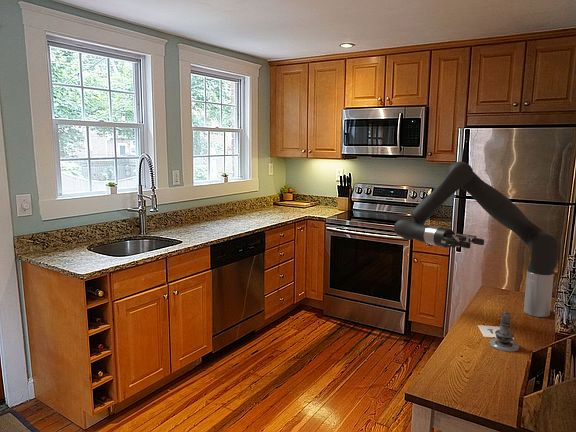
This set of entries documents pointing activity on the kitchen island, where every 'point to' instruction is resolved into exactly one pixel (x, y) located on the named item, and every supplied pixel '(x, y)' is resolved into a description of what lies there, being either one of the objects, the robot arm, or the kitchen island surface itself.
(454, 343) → the kitchen island surface
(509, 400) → the kitchen island surface
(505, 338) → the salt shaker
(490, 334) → the card
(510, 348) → the coaster
